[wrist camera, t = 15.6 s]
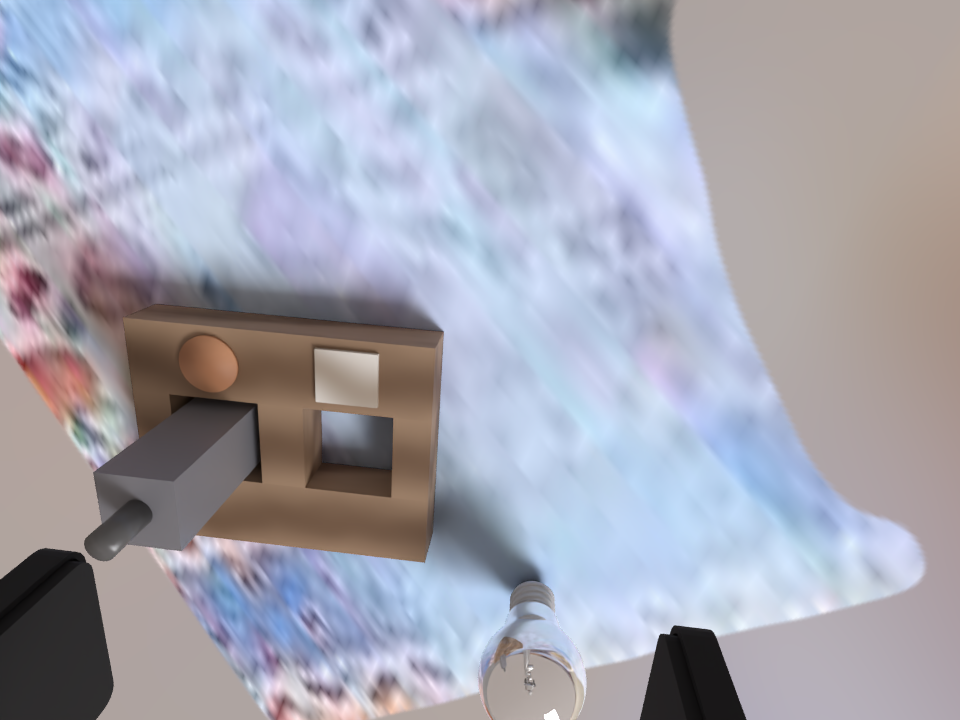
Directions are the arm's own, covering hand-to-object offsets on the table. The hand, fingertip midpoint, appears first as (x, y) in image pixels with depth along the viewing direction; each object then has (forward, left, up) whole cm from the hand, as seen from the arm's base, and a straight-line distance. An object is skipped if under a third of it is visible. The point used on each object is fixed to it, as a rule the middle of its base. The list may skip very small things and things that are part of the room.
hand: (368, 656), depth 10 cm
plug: (+12, -17, -30) cm, 37 cm away
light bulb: (+24, +5, -31) cm, 39 cm away
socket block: (+12, -13, -30) cm, 35 cm away
